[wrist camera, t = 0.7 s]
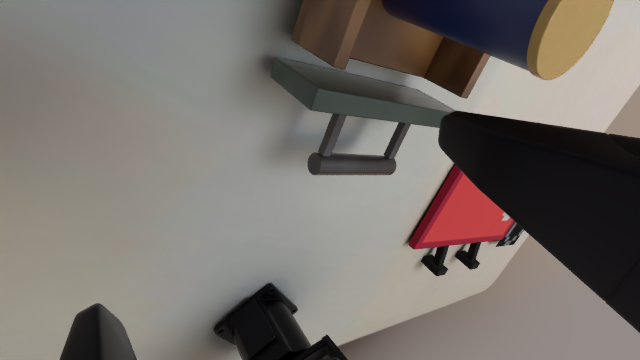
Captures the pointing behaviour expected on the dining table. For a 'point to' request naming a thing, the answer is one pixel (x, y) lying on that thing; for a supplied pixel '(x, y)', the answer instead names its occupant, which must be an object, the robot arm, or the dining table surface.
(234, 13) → the dining table surface
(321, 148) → the drawer
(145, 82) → the dining table surface
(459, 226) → the red board with handle
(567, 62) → the tin
